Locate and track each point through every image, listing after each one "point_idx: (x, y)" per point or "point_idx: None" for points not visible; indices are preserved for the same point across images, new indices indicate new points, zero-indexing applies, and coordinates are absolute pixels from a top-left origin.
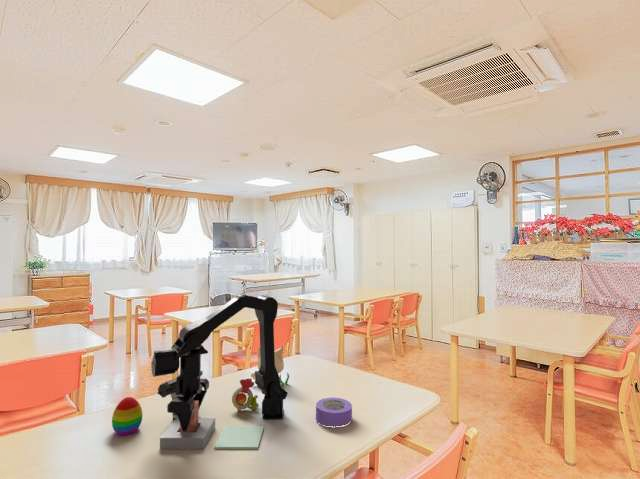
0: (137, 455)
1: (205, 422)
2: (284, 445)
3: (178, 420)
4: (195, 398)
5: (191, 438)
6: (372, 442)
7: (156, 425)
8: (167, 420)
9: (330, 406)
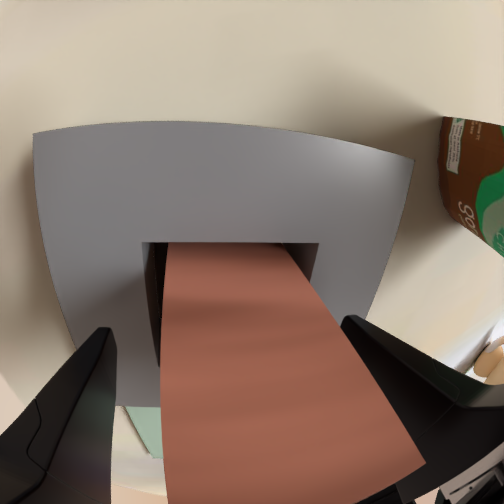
0: (24, 35)
1: None
2: None
3: (373, 187)
4: (430, 450)
5: None
6: None
7: (403, 30)
8: (443, 89)
9: None
